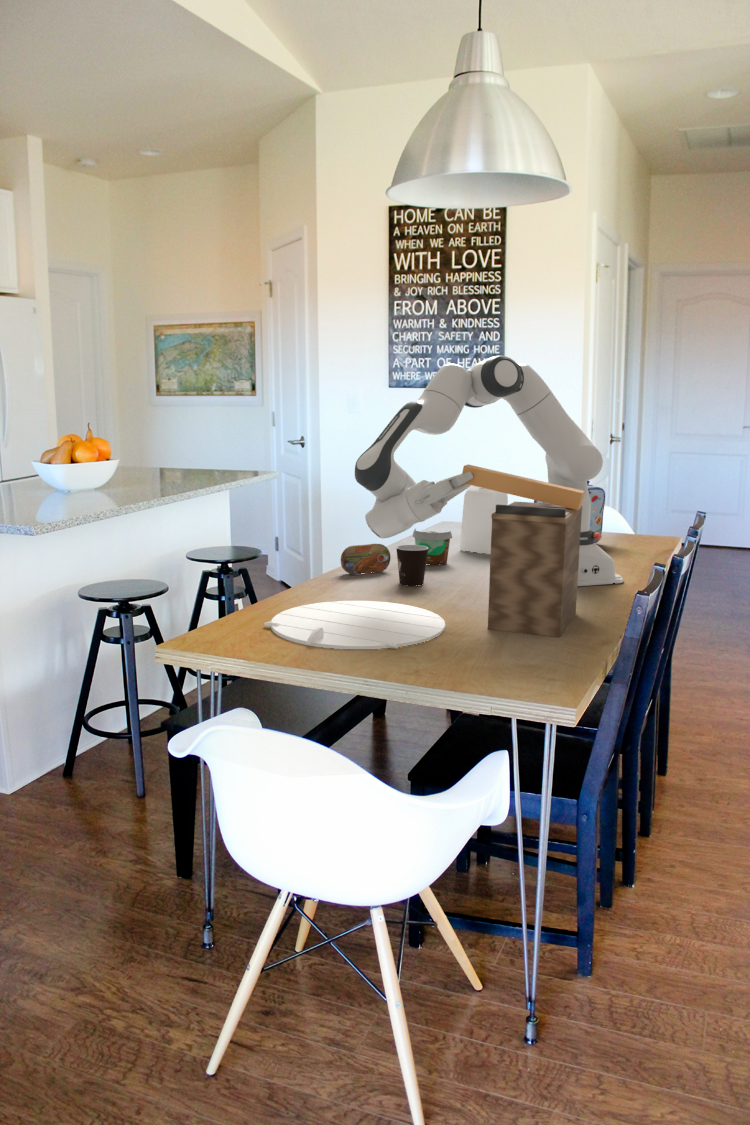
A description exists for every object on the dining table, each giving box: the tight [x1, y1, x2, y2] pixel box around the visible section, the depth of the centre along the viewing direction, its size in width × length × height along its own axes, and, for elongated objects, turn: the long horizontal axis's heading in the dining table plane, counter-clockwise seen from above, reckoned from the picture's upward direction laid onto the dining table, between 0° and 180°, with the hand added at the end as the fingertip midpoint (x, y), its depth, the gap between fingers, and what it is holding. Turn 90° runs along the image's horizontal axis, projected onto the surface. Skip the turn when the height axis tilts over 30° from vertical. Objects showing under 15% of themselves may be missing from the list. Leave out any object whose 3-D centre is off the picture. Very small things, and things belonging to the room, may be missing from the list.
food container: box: [412, 528, 453, 566], centre depth 275 cm, size 12×6×10 cm, turn 68°
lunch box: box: [533, 480, 606, 544], centre depth 308 cm, size 28×10×22 cm, turn 123°
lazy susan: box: [263, 600, 446, 650], centre depth 206 cm, size 40×39×3 cm
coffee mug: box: [396, 544, 428, 587], centre depth 249 cm, size 12×9×10 cm
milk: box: [459, 485, 509, 555], centre depth 297 cm, size 12×12×26 cm
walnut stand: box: [487, 501, 582, 638], centre depth 209 cm, size 16×23×28 cm
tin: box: [340, 543, 391, 576], centre depth 261 cm, size 15×3×8 cm, turn 118°
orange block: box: [461, 463, 585, 510], centre depth 212 cm, size 28×4×4 cm, turn 70°
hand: (475, 473), depth 215 cm, fingers closed on orange block, 4 cm apart
